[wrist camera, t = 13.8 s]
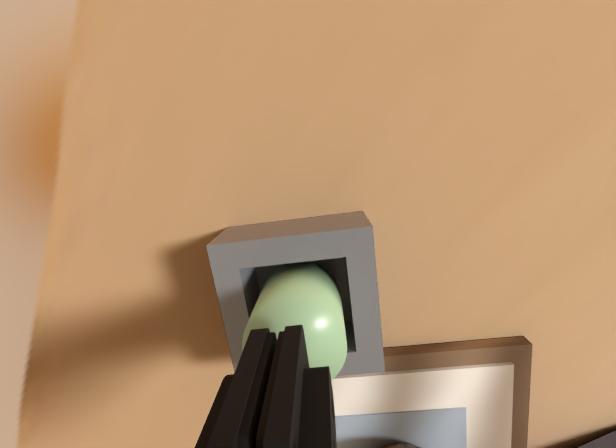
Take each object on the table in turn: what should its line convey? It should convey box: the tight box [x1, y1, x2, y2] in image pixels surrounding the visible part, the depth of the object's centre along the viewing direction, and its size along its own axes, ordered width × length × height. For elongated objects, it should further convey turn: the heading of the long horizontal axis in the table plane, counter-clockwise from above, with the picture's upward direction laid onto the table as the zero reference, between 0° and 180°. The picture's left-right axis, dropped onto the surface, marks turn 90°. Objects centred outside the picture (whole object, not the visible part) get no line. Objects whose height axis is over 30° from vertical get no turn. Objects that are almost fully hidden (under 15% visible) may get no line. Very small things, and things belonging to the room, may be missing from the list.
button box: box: [206, 211, 385, 376], centre depth 15 cm, size 7×7×3 cm
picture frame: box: [331, 336, 532, 448], centre depth 18 cm, size 15×12×1 cm
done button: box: [242, 261, 347, 380], centre depth 13 cm, size 4×4×4 cm
